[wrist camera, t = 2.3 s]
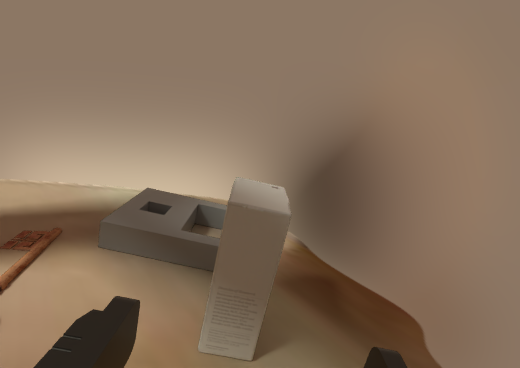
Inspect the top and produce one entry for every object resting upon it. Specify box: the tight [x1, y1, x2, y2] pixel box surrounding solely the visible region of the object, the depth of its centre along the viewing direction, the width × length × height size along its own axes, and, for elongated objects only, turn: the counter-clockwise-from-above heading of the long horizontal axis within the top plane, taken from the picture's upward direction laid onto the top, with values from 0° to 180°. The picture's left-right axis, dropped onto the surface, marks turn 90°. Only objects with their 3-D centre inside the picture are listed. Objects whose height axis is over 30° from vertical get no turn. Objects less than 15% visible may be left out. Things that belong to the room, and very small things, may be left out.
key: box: [0, 228, 62, 291], centre depth 23 cm, size 6×1×15 cm
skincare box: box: [198, 177, 292, 361], centre depth 22 cm, size 6×4×12 cm
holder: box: [98, 188, 227, 271], centre depth 35 cm, size 16×12×3 cm
